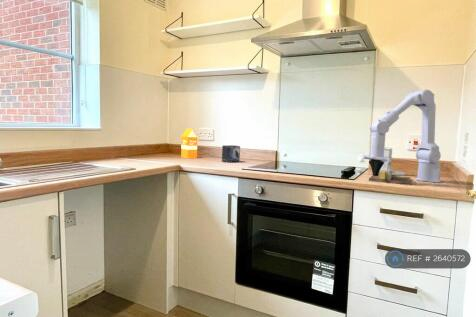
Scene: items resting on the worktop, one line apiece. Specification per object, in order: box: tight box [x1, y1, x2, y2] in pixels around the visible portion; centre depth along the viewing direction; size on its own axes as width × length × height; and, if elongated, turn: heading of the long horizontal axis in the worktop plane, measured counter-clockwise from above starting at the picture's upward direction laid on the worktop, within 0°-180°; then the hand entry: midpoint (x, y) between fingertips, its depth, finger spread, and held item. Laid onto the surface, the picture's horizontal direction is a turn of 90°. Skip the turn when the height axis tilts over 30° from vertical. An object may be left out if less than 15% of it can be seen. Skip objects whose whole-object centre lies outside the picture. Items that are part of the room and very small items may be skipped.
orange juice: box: [180, 128, 198, 159], centre depth 225 cm, size 8×9×20 cm
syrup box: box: [378, 146, 393, 170], centre depth 177 cm, size 6×6×14 cm
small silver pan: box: [379, 168, 406, 179], centre depth 154 cm, size 16×12×4 cm
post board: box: [368, 171, 412, 186], centre depth 156 cm, size 17×20×5 cm
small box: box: [221, 144, 241, 163], centre depth 209 cm, size 11×6×10 cm, turn 131°
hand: (375, 175), depth 153 cm, fingers closed
